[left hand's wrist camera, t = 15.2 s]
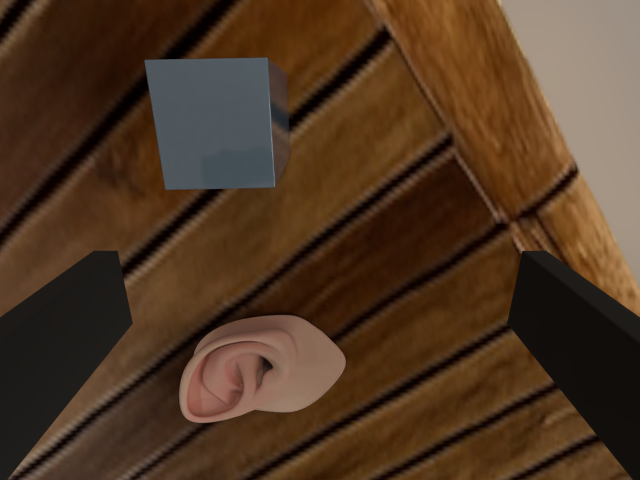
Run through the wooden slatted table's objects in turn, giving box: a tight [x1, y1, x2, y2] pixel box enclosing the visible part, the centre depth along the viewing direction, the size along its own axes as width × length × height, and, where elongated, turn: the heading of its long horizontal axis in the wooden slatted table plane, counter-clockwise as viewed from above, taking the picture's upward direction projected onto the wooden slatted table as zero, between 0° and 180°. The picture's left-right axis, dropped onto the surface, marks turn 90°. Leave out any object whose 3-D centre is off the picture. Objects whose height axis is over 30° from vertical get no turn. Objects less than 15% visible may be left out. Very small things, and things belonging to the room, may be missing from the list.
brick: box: [145, 58, 290, 190], centre depth 23 cm, size 6×5×11 cm
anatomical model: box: [179, 315, 346, 423], centre depth 33 cm, size 13×4×12 cm
